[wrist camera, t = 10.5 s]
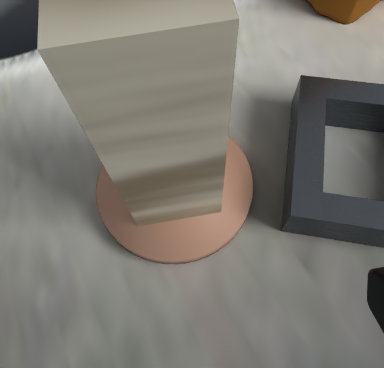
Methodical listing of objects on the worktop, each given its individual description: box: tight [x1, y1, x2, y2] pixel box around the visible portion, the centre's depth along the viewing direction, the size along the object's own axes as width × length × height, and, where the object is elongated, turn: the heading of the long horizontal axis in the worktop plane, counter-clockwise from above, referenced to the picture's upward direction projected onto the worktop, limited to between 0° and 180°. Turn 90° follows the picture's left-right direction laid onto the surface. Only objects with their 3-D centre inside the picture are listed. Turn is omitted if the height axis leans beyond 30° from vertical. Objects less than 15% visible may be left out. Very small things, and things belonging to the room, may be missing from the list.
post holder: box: [281, 75, 384, 248], centre depth 20 cm, size 9×9×2 cm
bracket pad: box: [96, 136, 253, 264], centre depth 21 cm, size 9×9×1 cm
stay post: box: [38, 0, 239, 226], centre depth 15 cm, size 5×5×12 cm
